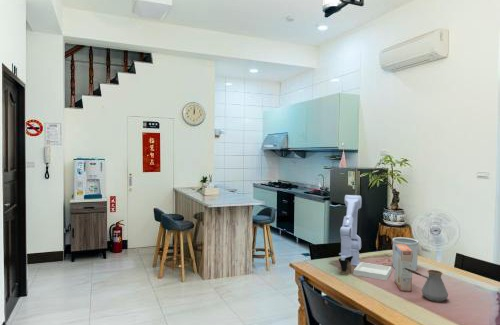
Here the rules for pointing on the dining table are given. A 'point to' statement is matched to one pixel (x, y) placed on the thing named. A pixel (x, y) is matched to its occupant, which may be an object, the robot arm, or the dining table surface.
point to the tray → (373, 271)
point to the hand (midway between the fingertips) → (345, 269)
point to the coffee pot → (433, 286)
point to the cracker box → (403, 267)
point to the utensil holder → (411, 244)
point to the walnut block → (347, 269)
